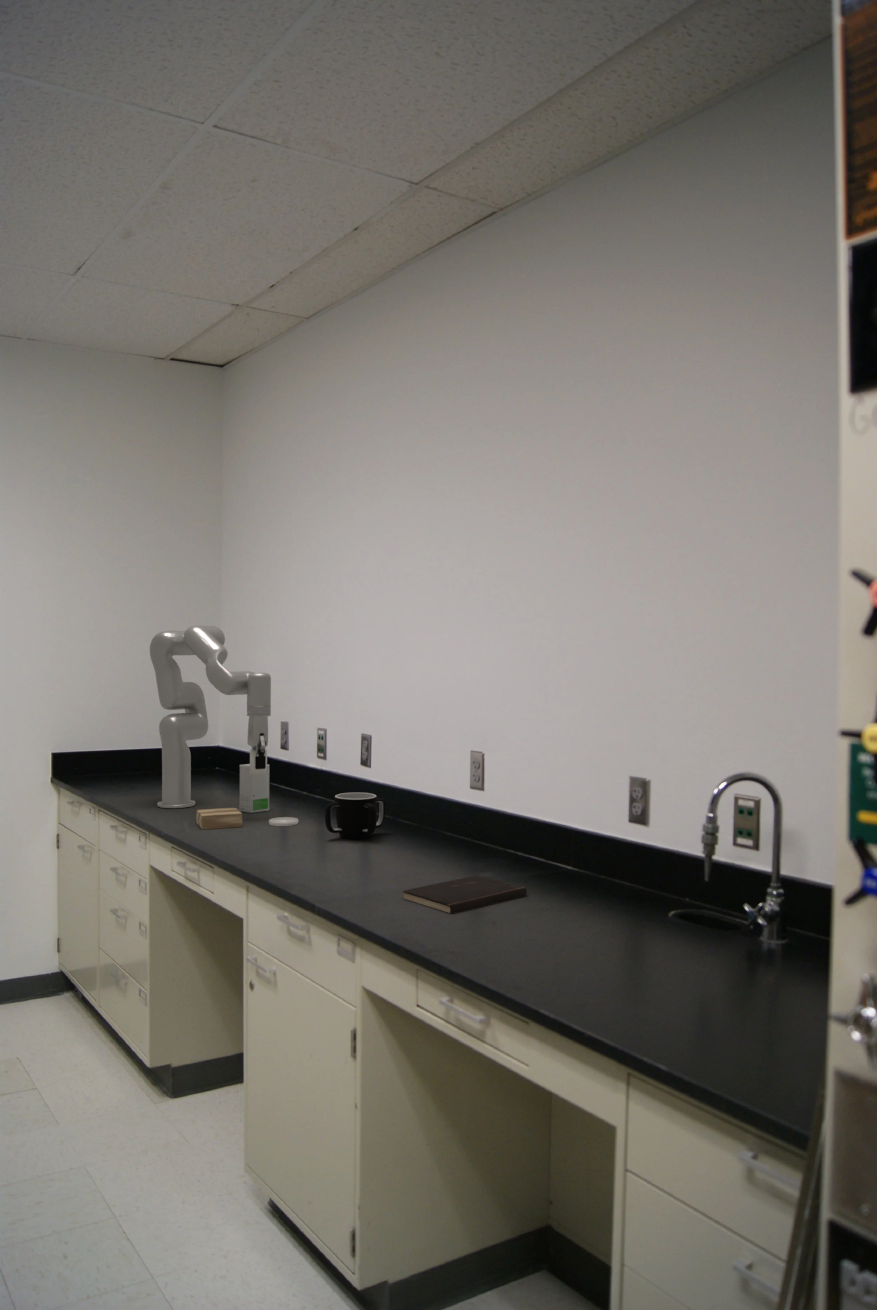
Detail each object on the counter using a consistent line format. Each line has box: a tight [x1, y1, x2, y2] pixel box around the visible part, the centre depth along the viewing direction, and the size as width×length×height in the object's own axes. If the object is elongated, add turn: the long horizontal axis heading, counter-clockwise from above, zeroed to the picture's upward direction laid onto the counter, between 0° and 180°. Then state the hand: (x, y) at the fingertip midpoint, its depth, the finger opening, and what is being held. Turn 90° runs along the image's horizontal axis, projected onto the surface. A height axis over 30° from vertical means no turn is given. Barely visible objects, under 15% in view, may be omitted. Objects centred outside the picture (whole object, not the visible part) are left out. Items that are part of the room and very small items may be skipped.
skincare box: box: [238, 763, 270, 814], centre depth 324 cm, size 8×7×16 cm
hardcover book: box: [401, 874, 528, 915], centre depth 216 cm, size 16×23×2 cm
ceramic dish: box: [268, 816, 299, 827], centre depth 302 cm, size 9×9×1 cm
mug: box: [324, 792, 386, 840], centre depth 282 cm, size 16×16×12 cm
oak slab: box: [196, 807, 243, 830], centre depth 299 cm, size 12×12×4 cm
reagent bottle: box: [249, 746, 268, 776], centre depth 312 cm, size 5×5×9 cm
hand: (258, 767), depth 312 cm, fingers closed on reagent bottle, 5 cm apart
